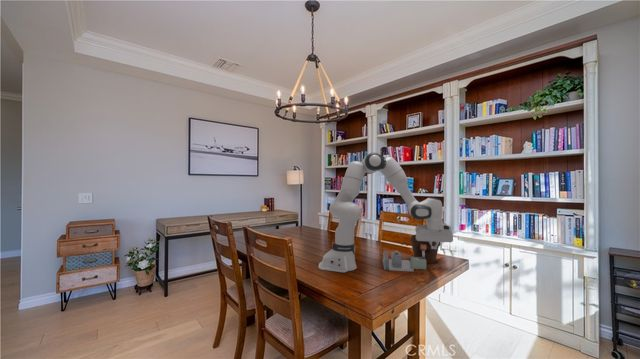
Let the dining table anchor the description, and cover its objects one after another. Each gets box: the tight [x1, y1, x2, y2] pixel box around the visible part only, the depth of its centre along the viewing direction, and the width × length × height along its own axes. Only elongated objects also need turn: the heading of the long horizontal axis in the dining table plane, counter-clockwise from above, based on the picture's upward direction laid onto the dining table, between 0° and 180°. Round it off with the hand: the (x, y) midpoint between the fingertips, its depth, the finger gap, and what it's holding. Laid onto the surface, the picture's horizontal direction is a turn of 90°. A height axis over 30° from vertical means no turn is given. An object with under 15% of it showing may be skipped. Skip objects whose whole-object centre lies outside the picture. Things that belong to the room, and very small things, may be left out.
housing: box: [391, 250, 403, 266], centre depth 161 cm, size 5×8×8 cm, turn 171°
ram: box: [413, 244, 426, 260], centre depth 159 cm, size 8×3×10 cm, turn 81°
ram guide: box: [409, 256, 427, 270], centre depth 159 cm, size 8×6×5 cm
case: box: [409, 234, 442, 264], centre depth 173 cm, size 18×20×18 cm
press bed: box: [382, 251, 415, 272], centre depth 161 cm, size 16×16×6 cm
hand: (433, 249), depth 157 cm, fingers closed
